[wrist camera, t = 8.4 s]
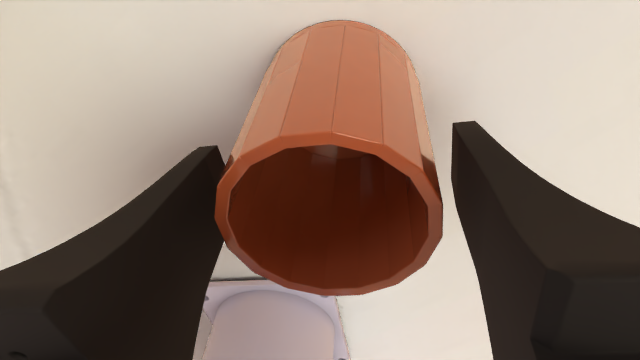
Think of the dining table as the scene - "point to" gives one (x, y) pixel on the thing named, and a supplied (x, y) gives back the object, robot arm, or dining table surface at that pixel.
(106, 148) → the dining table surface
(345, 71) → the cup
